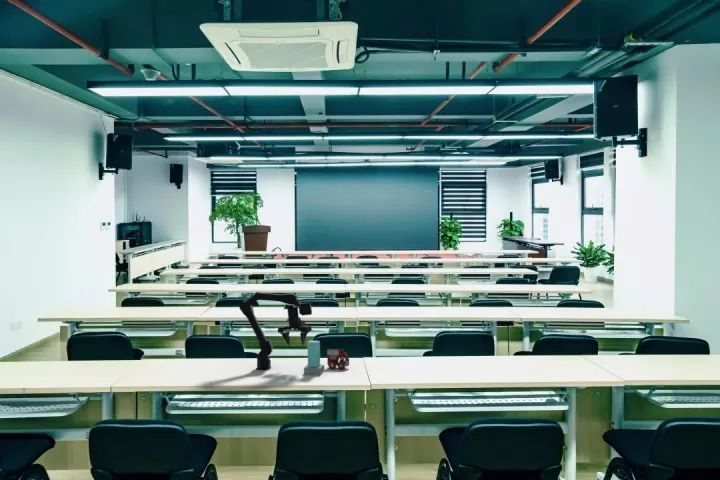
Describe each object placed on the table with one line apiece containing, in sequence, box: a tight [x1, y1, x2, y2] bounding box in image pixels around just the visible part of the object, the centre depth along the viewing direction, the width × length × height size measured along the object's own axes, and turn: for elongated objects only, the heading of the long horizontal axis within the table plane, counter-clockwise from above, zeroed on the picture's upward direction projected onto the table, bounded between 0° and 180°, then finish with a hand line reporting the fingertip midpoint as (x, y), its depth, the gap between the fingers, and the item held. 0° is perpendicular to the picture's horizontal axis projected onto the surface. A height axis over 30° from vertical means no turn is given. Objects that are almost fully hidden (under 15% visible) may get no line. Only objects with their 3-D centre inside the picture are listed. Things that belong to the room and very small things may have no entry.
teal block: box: [307, 340, 321, 367], centre depth 331 cm, size 5×5×13 cm
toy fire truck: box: [326, 348, 350, 371], centre depth 343 cm, size 7×12×10 cm, turn 82°
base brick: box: [303, 364, 325, 376], centre depth 331 cm, size 9×9×4 cm
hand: (296, 344), depth 341 cm, fingers open, 9 cm apart
